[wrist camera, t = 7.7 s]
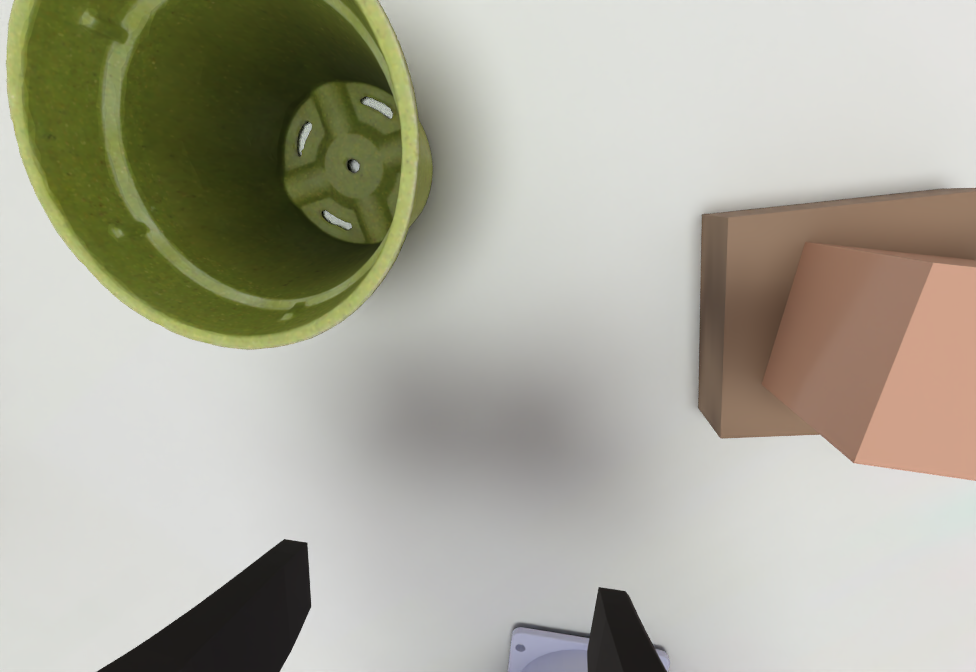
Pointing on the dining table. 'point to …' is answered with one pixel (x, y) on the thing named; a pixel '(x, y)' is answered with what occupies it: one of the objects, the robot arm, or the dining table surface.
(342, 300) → the plant pot
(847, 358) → the terracotta cube
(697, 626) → the dining table surface
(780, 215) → the walnut block
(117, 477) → the dining table surface
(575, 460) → the dining table surface
